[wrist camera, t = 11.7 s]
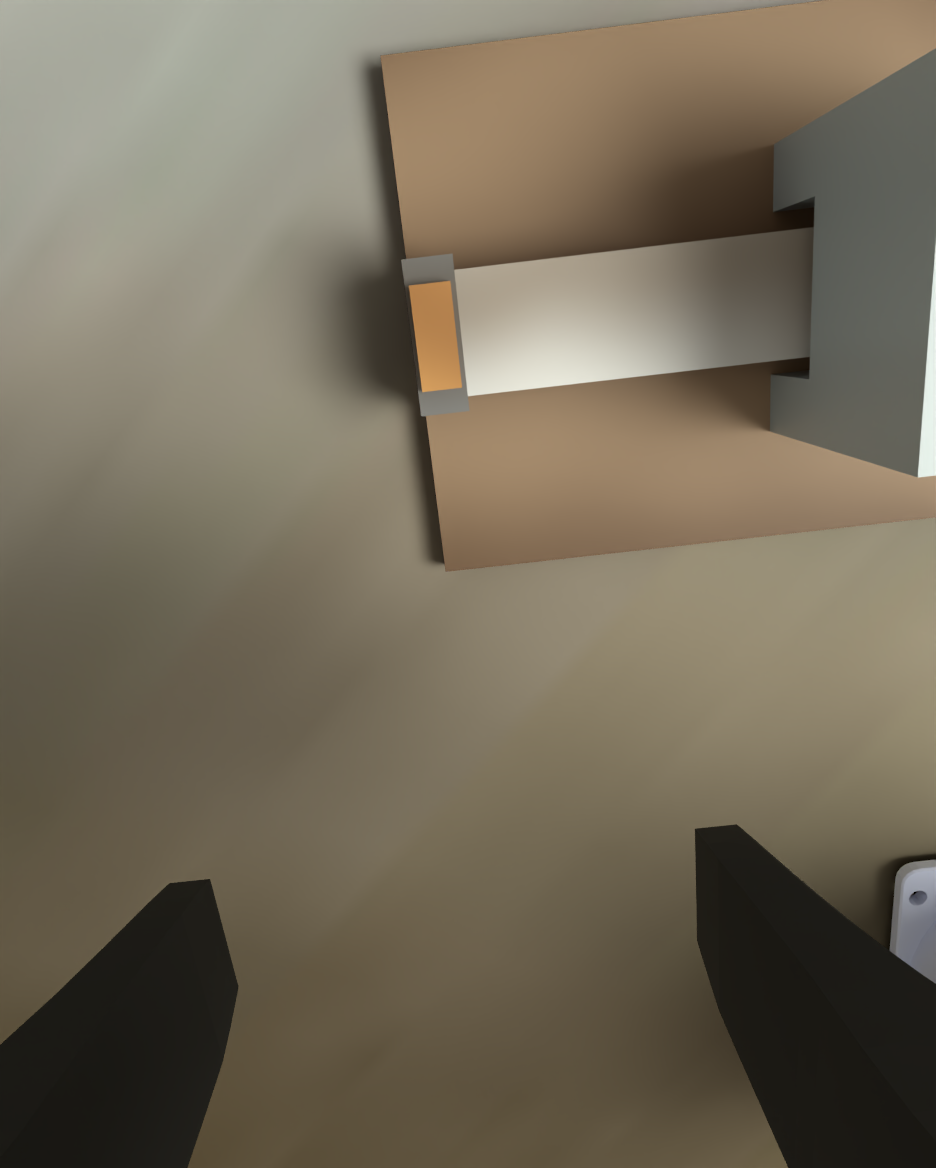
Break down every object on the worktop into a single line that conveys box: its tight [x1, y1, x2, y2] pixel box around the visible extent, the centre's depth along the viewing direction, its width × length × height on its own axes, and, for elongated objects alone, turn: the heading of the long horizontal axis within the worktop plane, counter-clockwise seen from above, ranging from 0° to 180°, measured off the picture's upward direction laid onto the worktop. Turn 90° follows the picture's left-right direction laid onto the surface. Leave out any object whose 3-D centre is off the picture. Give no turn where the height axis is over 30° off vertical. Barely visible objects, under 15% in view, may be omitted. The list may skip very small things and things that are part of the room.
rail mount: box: [381, 0, 936, 572], centre depth 16 cm, size 11×18×3 cm, turn 96°
